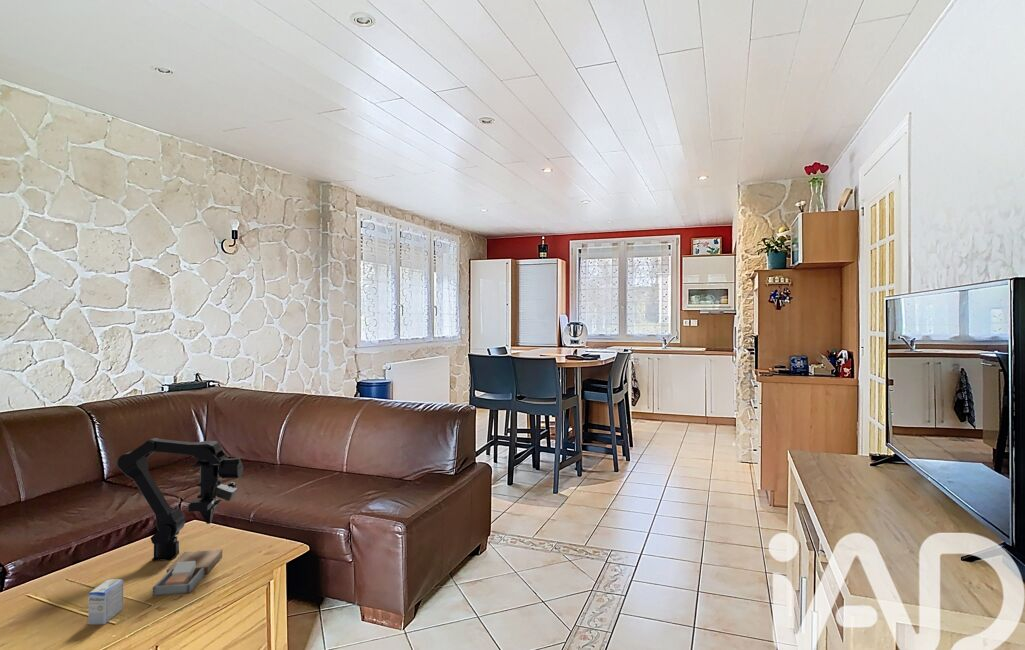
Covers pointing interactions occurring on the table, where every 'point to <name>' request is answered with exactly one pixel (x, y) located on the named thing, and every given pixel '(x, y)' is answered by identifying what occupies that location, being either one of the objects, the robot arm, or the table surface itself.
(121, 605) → the medicine box
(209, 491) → the robot arm
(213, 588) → the table surface
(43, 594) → the table surface
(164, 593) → the tray
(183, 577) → the tile terracotta
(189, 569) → the white block
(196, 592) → the table surface
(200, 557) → the walnut board
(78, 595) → the table surface
